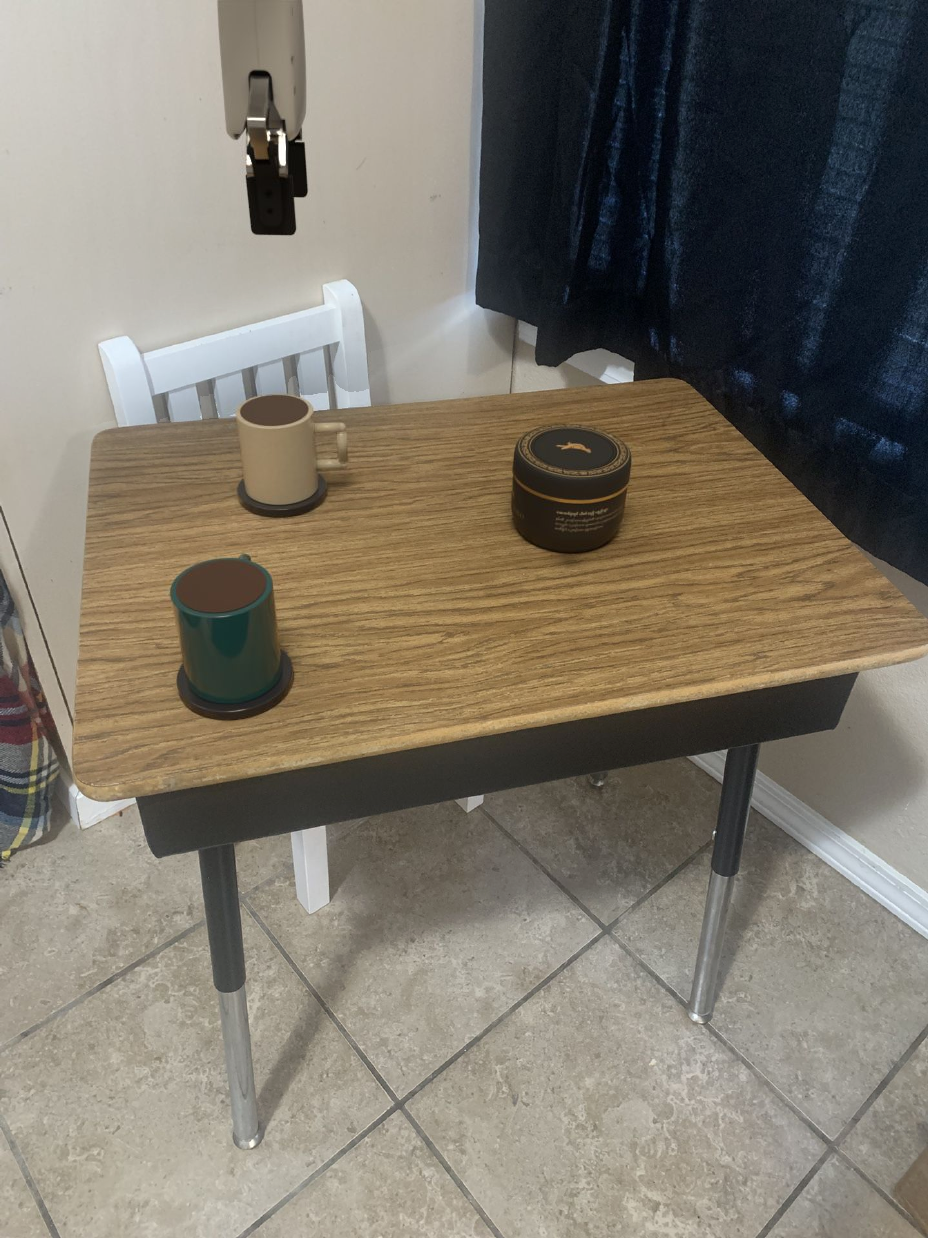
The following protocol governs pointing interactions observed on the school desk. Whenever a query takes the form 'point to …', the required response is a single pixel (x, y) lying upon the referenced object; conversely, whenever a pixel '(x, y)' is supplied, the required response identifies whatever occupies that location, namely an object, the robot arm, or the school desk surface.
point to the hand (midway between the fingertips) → (281, 213)
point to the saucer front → (237, 709)
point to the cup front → (227, 629)
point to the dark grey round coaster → (283, 509)
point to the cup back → (283, 448)
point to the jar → (569, 486)
